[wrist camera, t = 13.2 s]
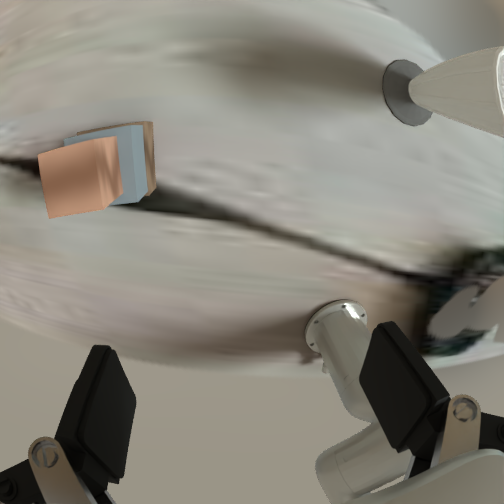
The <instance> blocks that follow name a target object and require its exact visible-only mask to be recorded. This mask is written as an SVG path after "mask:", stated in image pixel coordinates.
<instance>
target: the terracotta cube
mask: <svg viewBox="0 0 504 504" xmlns="http://www.w3.org/2000/svg"><path fill="white" fill-rule="evenodd" d="M38 161H39V168H40V175H41V181H42V187H43V193H44V198H45V203H46V208H47V212H48V217H49V219H50V218H56V217H61V216H67V215H73V214H79V213H85V212H91V211H97V210H104V209H105V208H106V207H107V206H108V205H109V204H111V203H112V202H113V201H114V200H115V199H117V198H118V197H119V196H120V195H122V194H123V187H122V179H121V172H120V164H119V155H118V145H117V136H112V137H105V138H98V139H92V140H88V141H84V142H80V143H76V144H72V145H68V146H65V147H61V148H58V149H54V150H51V151H47V152H44V153H41V154H38Z"/></svg>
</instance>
